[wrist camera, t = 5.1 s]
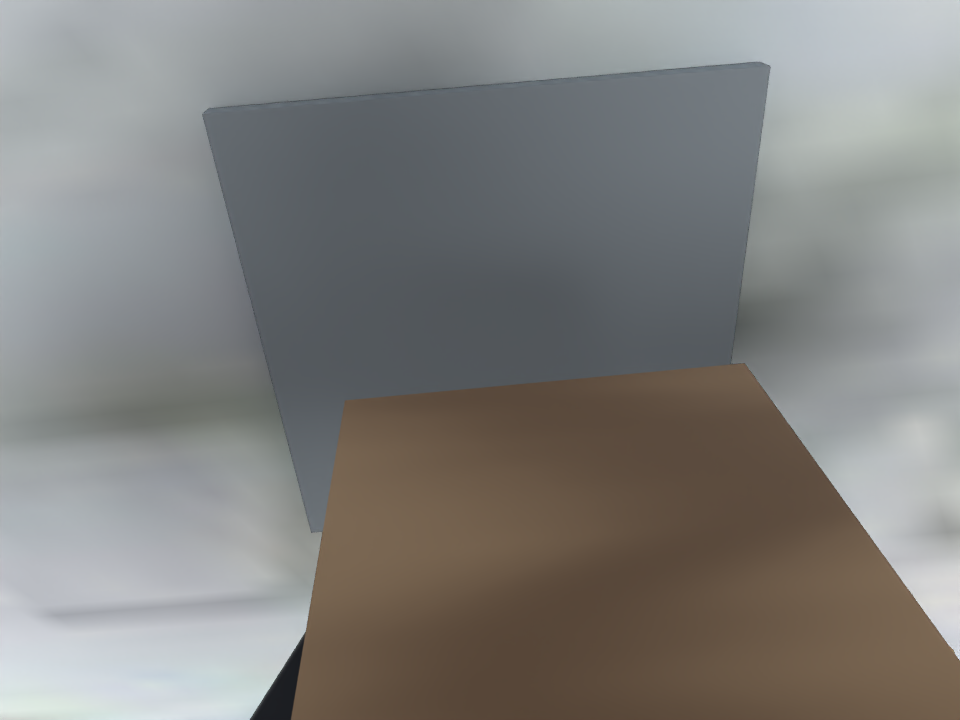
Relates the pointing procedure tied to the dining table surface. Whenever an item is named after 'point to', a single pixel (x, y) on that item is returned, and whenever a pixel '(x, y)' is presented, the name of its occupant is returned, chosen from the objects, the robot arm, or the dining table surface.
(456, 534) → the walnut block
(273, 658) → the dining table surface
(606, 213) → the felt pad
